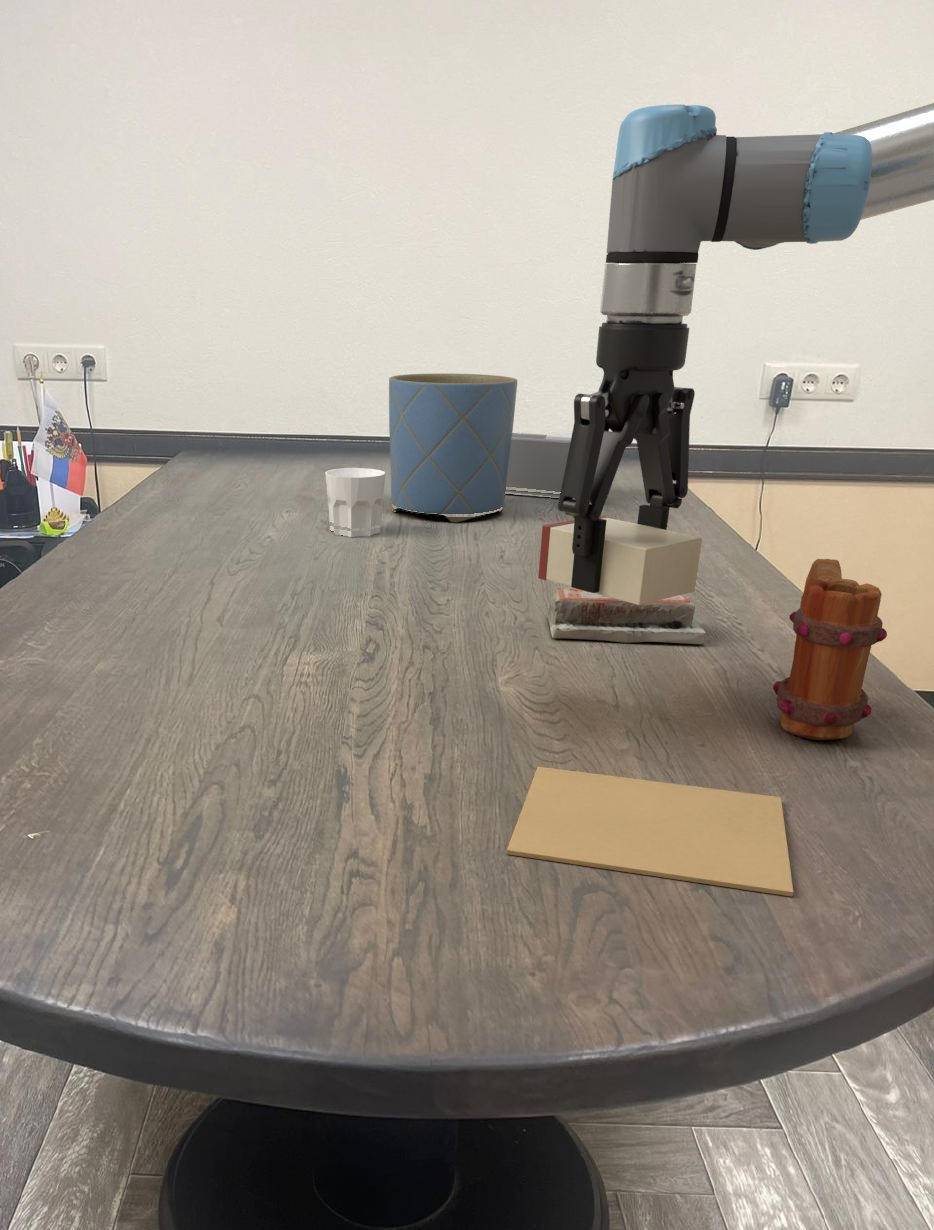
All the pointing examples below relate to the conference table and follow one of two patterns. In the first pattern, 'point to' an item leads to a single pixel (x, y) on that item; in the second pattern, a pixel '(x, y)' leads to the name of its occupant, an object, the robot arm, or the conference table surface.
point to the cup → (355, 499)
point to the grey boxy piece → (622, 618)
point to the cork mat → (655, 830)
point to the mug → (830, 655)
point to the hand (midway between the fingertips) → (615, 582)
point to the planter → (450, 442)
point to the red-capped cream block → (627, 560)
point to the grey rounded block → (538, 462)
